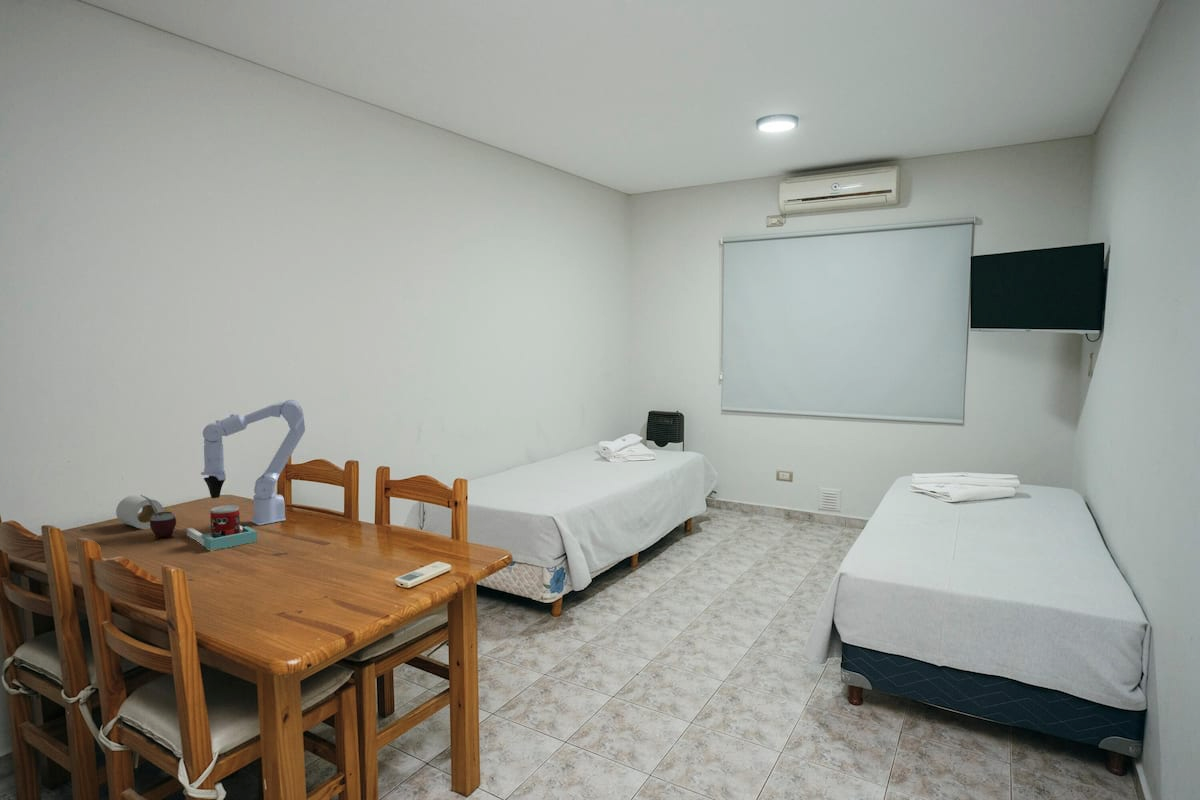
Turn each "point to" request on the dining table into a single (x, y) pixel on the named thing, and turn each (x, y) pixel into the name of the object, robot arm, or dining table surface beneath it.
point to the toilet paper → (130, 509)
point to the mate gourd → (162, 523)
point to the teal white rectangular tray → (224, 538)
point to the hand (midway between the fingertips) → (215, 497)
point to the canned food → (225, 521)
